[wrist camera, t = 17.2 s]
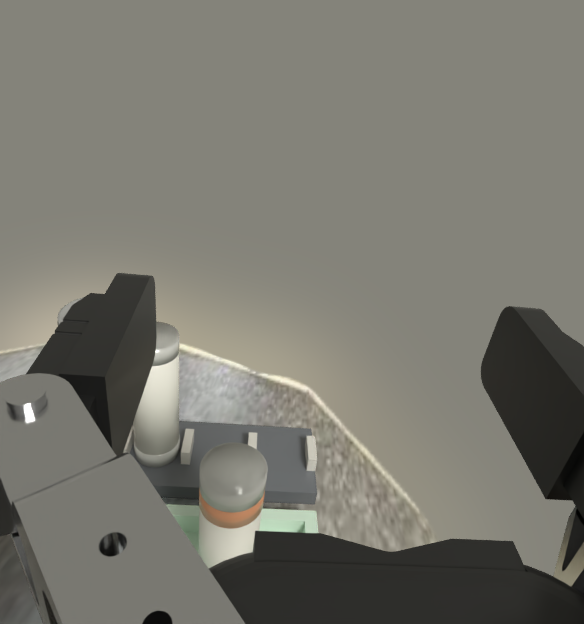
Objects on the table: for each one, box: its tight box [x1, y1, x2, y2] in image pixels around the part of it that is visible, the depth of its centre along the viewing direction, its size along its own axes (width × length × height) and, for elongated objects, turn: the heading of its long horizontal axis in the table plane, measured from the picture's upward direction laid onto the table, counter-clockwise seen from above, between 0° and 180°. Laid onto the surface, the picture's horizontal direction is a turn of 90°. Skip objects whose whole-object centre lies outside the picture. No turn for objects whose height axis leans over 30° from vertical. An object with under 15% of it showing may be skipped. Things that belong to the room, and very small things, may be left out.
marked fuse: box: [198, 442, 268, 568], centre depth 34 cm, size 4×4×13 cm
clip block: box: [123, 421, 317, 504], centre depth 48 cm, size 18×8×3 cm, turn 92°
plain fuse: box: [133, 322, 180, 467], centre depth 44 cm, size 4×4×13 cm
